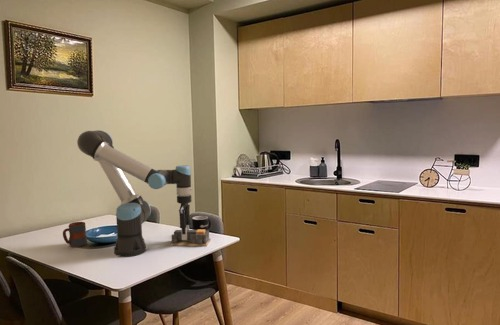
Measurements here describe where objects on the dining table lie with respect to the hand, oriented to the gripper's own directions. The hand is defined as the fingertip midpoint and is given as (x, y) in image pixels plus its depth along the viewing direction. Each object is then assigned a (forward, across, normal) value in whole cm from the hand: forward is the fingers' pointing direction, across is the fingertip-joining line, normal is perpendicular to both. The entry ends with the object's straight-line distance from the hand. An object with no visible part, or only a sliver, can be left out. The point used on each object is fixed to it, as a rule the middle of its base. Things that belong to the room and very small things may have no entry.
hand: (185, 238), depth 200 cm
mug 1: (+2, -7, +57) cm, 58 cm away
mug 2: (+3, +16, -6) cm, 17 cm away
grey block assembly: (+3, 0, -3) cm, 4 cm away
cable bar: (0, 0, -2) cm, 2 cm away
